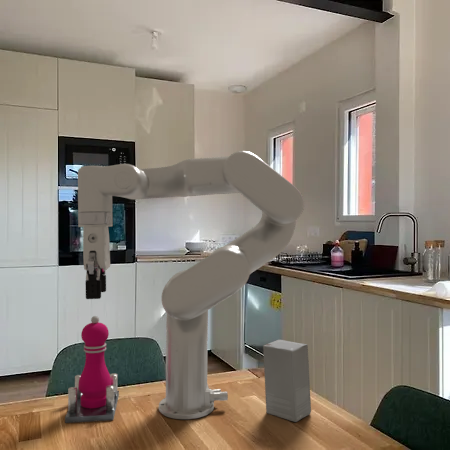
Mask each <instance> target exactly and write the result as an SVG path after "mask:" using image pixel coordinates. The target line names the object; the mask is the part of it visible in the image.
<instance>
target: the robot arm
mask: <svg viewBox="0 0 450 450" xmlns="http://www.w3.org/2000/svg"><path fill="white" fill-rule="evenodd" d="M226 194H227V195H229V194H241V195H242V196H243V198H245V199H246V200H247V201H249V202H250V203H251V204H252V205H253V206H255V207H256V208H258V209H259V210H260V211H261V212H262V213H261V214H262V215H261V218H260V220H259V221H258V223H257V224H256V225H255V226H254V227H252V228H251V229H249V230H247V231H246V232H244V233H243V234H242V235H240V236H238V237H237V238H235V239H234V240H232V241H231V242H228V243H227V244H224V245H223V246H220V247H217V248H216V249H215V250H213V251H212V252H211V253H210V255H208V256H207V257H205V258H203V259H202V260H200V261H199V262H197V263H196V264H193V266H190V267H189V268H187V269H184V270H181V271H178V272H176V273H175V274H173V275H172V277H171V278H169V280H168V281H167V283H165V285H164V287H163V289H162V292H161V305H162V308H163V310H164V311H165V313H166V320H165V321H166V324H165V325H166V327H165V331H166V332H165V397H164V398H162V399H161V400H160V401H159V403H158V411H159V412H160V414H161V415H163V416H165V417H167V418H170V419H176V420H193V419H194V420H195V419H199V418H203V417H205V416H207V415H209V414H211V413H212V412H213V411H214V409H215V408H214V407H215V403H214V402H215V401H220V402H222V401H228V398H229V395H228V391H221V388H217V389H211V388H209V384H208V339H209V327H208V326H209V325H208V324H209V310H212V309H213V308H215V306H217V305H219V304H221V303H222V302H223V301H225V300H227V299H228V298H230V297H232V296H233V295H234V294H236V293H237V292H238V291H240V290H241V289H243V287H244V286H246V284H247V283H248V280H249V278H250V275H251V274H252V273H253V272H256V271H257V270H258V269H260V268H261V267H264V266H265V265H266V264H267V263H269V262H270V261H272V260H273V259H274V258H276V257H277V256H279V255H280V254H281V253H282V252H283V251H284V250H285V249H286V248H287V247H288V245H289V244H290V242H291V240H292V238H293V235H294V233H295V231H296V230H295V229H296V223H297V222H296V221H297V220H298V219H299V218H300V217H301V216H302V214H303V213H304V208H305V199H304V196H303V195H302V193H301V191H300V190H299V189H298V188H297V187H296V186H295V185H294V184H293V183H291V181H289V180H287V179H286V178H285V177H284V176H283V175H282V174H280V173H279V172H278V171H276V170H275V169H274V168H273V167H271V166H270V165H269V164H267V162H266V161H264V160H262V159H261V158H260V156H258V155H256V154H254V153H253V152H251V151H247V150H239V151H236V152H233V153H232V154H230V155H229V156H216V157H215V156H214V157H203V158H202V157H200V158H198V157H197V158H196V157H195V158H187V159H183V160H181V161H179V162H177V163H175V164H173V165H168V166H163V167H162V166H160V167H150V168H149V167H148V168H139V167H136V166H135V165H133V164H130V163H120V164H114V165H107V166H102V165H83V166H81V167H80V168H78V171H77V205H78V206H77V207H78V208H77V209H78V211H77V212H78V214H77V215H78V216H77V217H78V219H77V221H78V226H77V227H78V228H83V232H82V233H83V236H82V240H83V241H82V243H83V244H82V245H83V246H82V251H83V252H82V253H83V256H82V257H83V268H84V270H85V272H86V274H85V299H86V300H100V299H101V298H102V293H105V292H106V291H107V274H106V271H107V270H108V269H109V268H110V267H111V251H110V250H111V249H110V246H111V245H110V233H109V227H113V223H114V222H113V197H120V198H125V199H128V200H146V199H147V200H148V199H163V198H173V197H174V198H175V197H176V198H177V197H180V198H186V197H196V196H208V195H209V196H211V195H226Z"/></svg>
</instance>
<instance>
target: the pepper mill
mask: <svg viewBox="0 0 450 450" xmlns="http://www.w3.org/2000/svg"><path fill="white" fill-rule="evenodd" d="M80 333H81V335H80V336H81V340H82V341H83V343H84V344H83V352H85V362H84V366H83V370H82V372H81V374H80V375H81V376H80V379H79V385H78V388H79V390H80V392H81V393H82V394H83V395H82V396H81V406H82V407H84V408H99V407H103V406H105V405H106V386H109V385H111V377H110V374H111V373H110V372H109V369H108V367H107V365H106V361H105V351H107V343H106V341H107V339H109V335H110V334H109V333H110V332H109V329H108V327H107V325H106V324H104V323H102V322H100V317H98V315H93V316H92V317H91V318H90V323H88V324H86V325H85V326H84V327H83V328H82V331H81V332H80Z"/></svg>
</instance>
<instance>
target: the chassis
mask: <svg viewBox="0 0 450 450" xmlns="http://www.w3.org/2000/svg"><path fill="white" fill-rule="evenodd" d="M109 374H110V377H111V385H109V386H106V405H105V406H103V407H99V408H84V407H82V406H81V396H82V395H83V394H82V393H81V392H80V390H79V388H78V385H79V379H80V376H81V374H77V375H75V376H74V386H71V387H68V389H67V390H68V392H67V393H68V395H67V396H68V398H67V399H68V400H67V406H68V407H67V408H68V409H67V413H66V415H65V417H64V423H65V424H69V423H71V424H72V423H73V424H74V423H86V422H87V423H88V422H101V421H102V422H104V421H106V422H107V421H114V420H115V414H116V410H117V405H118V401H119V396H120V392H119V391H120V390H118V373H109Z"/></svg>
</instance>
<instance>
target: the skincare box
mask: <svg viewBox="0 0 450 450" xmlns="http://www.w3.org/2000/svg"><path fill="white" fill-rule="evenodd" d="M262 347H263V348H262V349H263V366H264V367H263V369H264V371H263V372H264V389H265V390H264V391H265V392H264V393H265V410H266V411H265V412H266V414H268V415H273V416H276V417H278V418H281V419H284V420H287V421H290V422H293V423H297V422H299V421H301V420H302V419H304V418H305V417H307V416H309V415H311V413H312V405H311V404H312V403H311V401H312V399H311V384H310V368H309V367H310V366H309V348H308V347H309V345H308V344H307V343H299V342H295V341H289V340H285V339H281V338H280V339H277V340H274V341H271V342H269V343H266V344H264V345H262Z"/></svg>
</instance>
